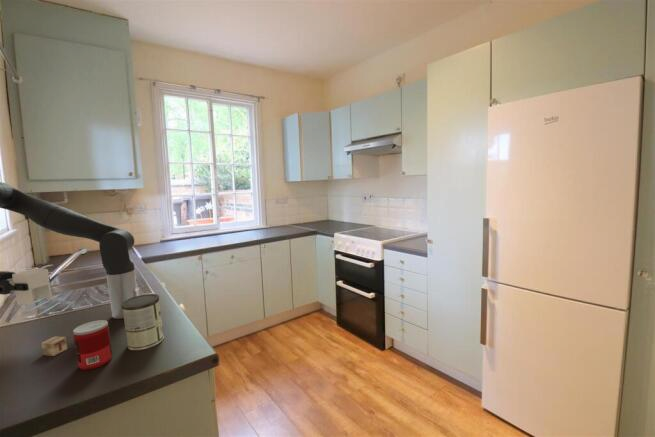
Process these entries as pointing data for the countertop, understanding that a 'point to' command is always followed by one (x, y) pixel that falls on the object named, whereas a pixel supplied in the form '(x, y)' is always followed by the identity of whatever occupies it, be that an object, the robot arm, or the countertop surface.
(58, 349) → the letter block
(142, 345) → the coffee can
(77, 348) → the canned food
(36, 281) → the cover
